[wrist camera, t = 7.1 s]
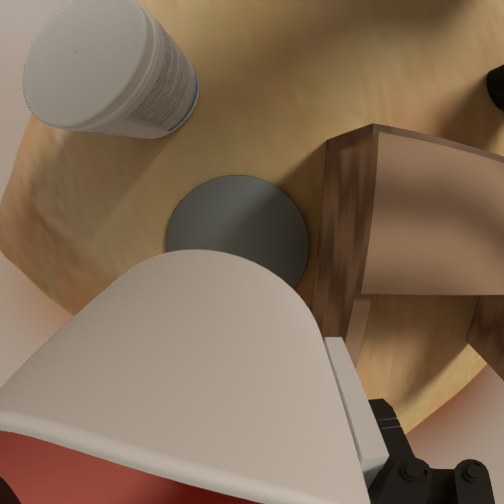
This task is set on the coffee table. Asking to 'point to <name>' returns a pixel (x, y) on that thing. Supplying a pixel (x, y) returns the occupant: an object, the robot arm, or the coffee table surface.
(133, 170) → the coffee table surface
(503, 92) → the cup
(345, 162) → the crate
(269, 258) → the coaster
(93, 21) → the supplement tub
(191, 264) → the cup
